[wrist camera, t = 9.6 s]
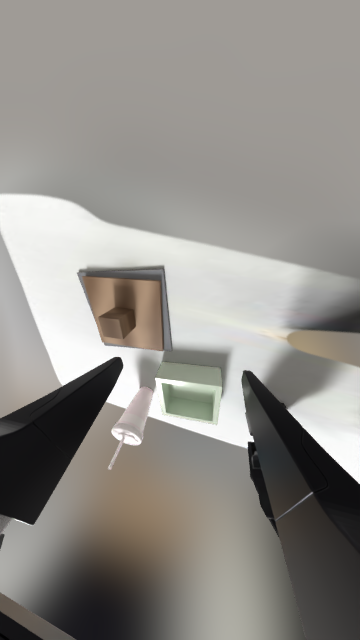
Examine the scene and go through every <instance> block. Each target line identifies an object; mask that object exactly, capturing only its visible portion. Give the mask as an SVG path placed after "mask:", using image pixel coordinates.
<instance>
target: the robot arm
mask: <svg viewBox="0 0 360 640" xmlns="http://www.w3.org/2000/svg"><path fill="white" fill-rule="evenodd" d="M122 369H123V362H122V359H121V358H120V357H114V358H112V359H110V360H109V361H107V362H105V363H103V364H102V365H100V366H98V367H96V368H94V369H93V370H91V371H89V372H87V373H85V374H84V375H82V376H80V377H78V378H77V379H75V380H73V381H71V382H69V383H68V384H66V385H64V386H63V387H60V388H59V389H57V390H55V391H53V392H52V393H50V394H48V395H46V396H44V397H42V398H40V399H38V400H36V401H34V402H32V403H30V404H28V405H26V406H24V407H22V408H21V409H18V410H16V411H15V412H12V413H11V414H9V415H7V416H5V417H2V418H0V548H1V545H2V541H3V538H4V534H2V532H3V531H4V529H5V528H6V527H7V525H8V524H9V523H10V521H11V520H12V519H15V520H18V521H21V522H23V523H27V524H29V525H32V526H33V525H34V523H35V522H36V520H37V519H38V517H39V515H40V513H41V512H42V510H43V508H44V507H45V505H46V503H47V501H48V500H49V498H50V496H51V494H52V493H53V491H54V489H55V488H56V486H57V484H58V482H59V481H60V479H61V477H62V476H63V474H64V472H65V470H66V469H67V467H68V465H69V464H70V462H71V460H72V458H73V457H74V455H75V453H76V451H77V450H78V448H79V446H80V445H81V443H82V441H83V439H84V438H85V436H86V434H87V432H88V431H89V429H90V427H91V426H92V424H93V422H94V421H95V419H96V417H97V415H98V414H99V412H100V410H101V408H102V407H103V405H104V403H105V402H106V400H107V398H108V396H109V395H110V393H111V391H112V390H113V388H114V386H115V384H116V382H117V380H118V377H119V375H120V373H121V371H122ZM242 388H243V395H244V401H245V407H246V413H245V414H246V419H247V423H248V427H249V432H250V435H251V436H253V438H254V442H248V454H249V464H250V477H251V479H252V481H253V482H254V485H255V487H256V490H257V492H258V494H259V500H260V505H261V507H262V509H263V511H264V513H265V515H266V517H267V518H269V520H270V522H271V524H272V526H273V528H274V529H275V531H276V533H277V535H278V537H279V538H280V541H281V545H282V549H283V553H284V557H285V561H286V565H287V569H288V572H289V576H290V580H291V584H292V588H293V591H294V595H295V599H296V603H297V606H298V610H299V614H300V618H301V622H302V626H303V630H304V633H305V637H306V640H360V484H359V483H358V482H357V481H356V480H355V479H354V478H353V477H352V476H351V475H349V474H348V473H347V472H346V471H345V470H344V469H343V468H342V467H341V466H340V465H339V464H338V463H337V462H336V461H335V460H334V459H333V458H332V457H331V456H330V455H329V454H328V453H327V452H326V451H325V450H324V449H323V448H322V447H321V446H320V445H319V444H318V443H317V442H316V441H315V439H314V438H313V437H312V436H311V435H310V434H309V433H308V432H307V431H306V430H305V429H304V428H303V427H302V426H301V425H300V423H299V422H298V421H297V420H296V419H295V418H294V417H293V416H292V415H291V414H290V413H289V412H288V411H287V409H286V406H285V404H283V403H280V402H279V401H278V400H277V399H276V398H275V397H274V395H273V394H272V393H271V392H270V391H269V390H268V389H267V388H266V387H265V386H264V385H263V384H262V382H261V381H260V380H259V379H258V378H257V377H256V376H255V375H254V374H253V373H252V372H251V371H247V370H244V371H243V375H242ZM0 640H76V639H74V638H72V637H71V636H69V635H68V634H66V633H64V632H63V631H61V630H60V629H58V628H56V627H55V626H53V625H52V624H50V623H48V622H47V621H45V620H44V619H42V618H40V617H39V616H37V615H35V614H34V613H32V612H31V611H29V610H28V609H26V608H24V607H23V606H21V605H19V604H18V603H16V602H15V601H13V600H11V599H10V598H8V597H6V596H5V595H3V594H2V593H0Z"/></svg>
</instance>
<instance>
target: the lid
mask: <svg viewBox="0 0 360 640" xmlns="http://www.w3.org/2000/svg"><path fill="white" fill-rule="evenodd" d="M82 279H83V282H84V285H85V288H86V292H87V295H88V298H89V301H90V304H91V308H92V311H93V314H94V317H95V321H96V324H97V327H98V330H99V333H100V337H101V340H102V342H105V343H112V344H118V345H125V346H131V347H138V348H144V349H151V350H158V351H163V349H164V340H163V316H162V292H161V281H160V280H145V279H129V278H113V277H97V276H82Z"/></svg>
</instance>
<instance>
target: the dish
mask: <svg viewBox="0 0 360 640" xmlns="http://www.w3.org/2000/svg"><path fill="white" fill-rule="evenodd" d="M155 380H156V385H157V390H158V395H159V400H160V405H161V410H162V415H166V416H172V417H177V418H183V419H188V420H193V421H199V422H204V423H209V424H215V425H217V423H218V415H219V408H220V401H221V393H222V379H221V369H220V368H218V367H209V366H199V365H189V364H180V363H170V362H162V363H161V365H160V368H159V370H158V372H157V375H156V377H155Z"/></svg>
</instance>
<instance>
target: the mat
mask: <svg viewBox="0 0 360 640" xmlns="http://www.w3.org/2000/svg"><path fill="white" fill-rule="evenodd" d="M77 274H78V277H79V280H80V282H81V285H82V287H83V290H84V293H85V295H86V298H87V300H88V303H89V306H90V308H91V304H90V301H89V298H88V295H87V292H86V288H85V285H84V282H83V279H82V276H97V277H113V278H129V279H145V280H160V281H161V292H162V316H163V340H164V349H163V350H164V351H172V345H171V335H170V326H169V316H168V306H167V297H166V287H165V277H164V269H152V270H127V271H102V272H78V273H77ZM91 311H92V308H91ZM92 313H93V311H92ZM93 316H94V314H93ZM94 319H95V317H94ZM104 344H105V345H106V346H118V347H129V348H138V347H131V346H125V345H118V344H112V343H105V342H104ZM141 349H144V348H141Z"/></svg>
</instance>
